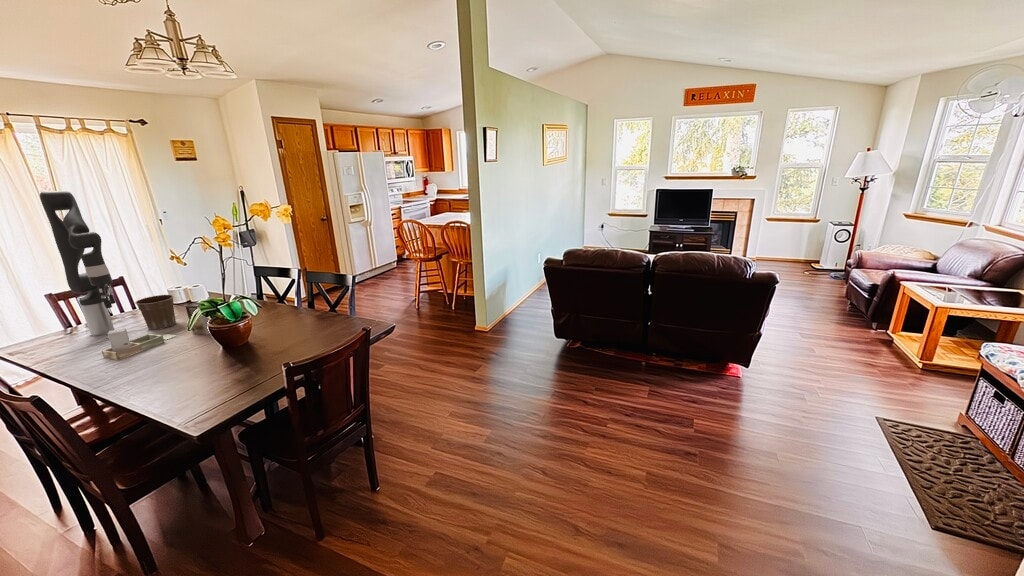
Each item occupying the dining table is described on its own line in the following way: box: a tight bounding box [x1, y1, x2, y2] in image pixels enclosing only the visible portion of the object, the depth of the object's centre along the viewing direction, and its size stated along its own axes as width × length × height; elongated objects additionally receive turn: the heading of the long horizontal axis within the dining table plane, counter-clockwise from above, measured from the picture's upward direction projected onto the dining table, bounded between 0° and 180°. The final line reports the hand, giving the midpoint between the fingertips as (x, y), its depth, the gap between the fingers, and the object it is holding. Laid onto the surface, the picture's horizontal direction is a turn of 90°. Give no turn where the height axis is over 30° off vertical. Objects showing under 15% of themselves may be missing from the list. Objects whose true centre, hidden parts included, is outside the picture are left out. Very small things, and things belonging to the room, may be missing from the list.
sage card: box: [162, 334, 177, 341], centre depth 211 cm, size 7×5×1 cm
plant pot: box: [134, 294, 177, 331], centre depth 223 cm, size 16×16×16 cm
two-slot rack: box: [101, 333, 165, 361], centre depth 197 cm, size 10×20×4 cm, turn 165°
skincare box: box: [107, 328, 131, 352], centre depth 191 cm, size 6×4×12 cm
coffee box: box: [185, 301, 210, 335], centre depth 215 cm, size 9×6×16 cm
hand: (111, 305), depth 196 cm, fingers open, 8 cm apart
